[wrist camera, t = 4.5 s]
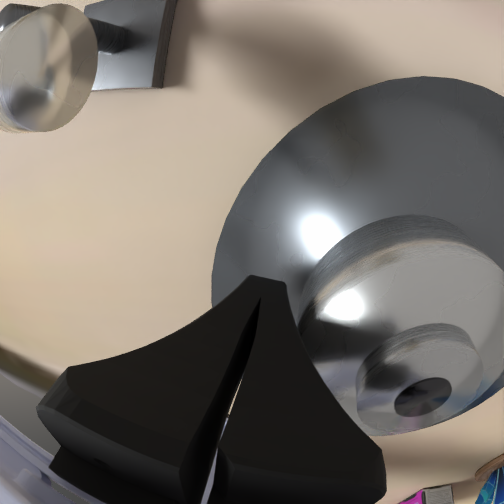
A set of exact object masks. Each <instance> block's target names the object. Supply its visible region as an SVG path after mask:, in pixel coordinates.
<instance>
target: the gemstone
mask: <svg viewBox="0 0 504 504" xmlns="http://www.w3.org/2000/svg"><path fill="white" fill-rule="evenodd" d="M475 479H476V481H485V480H487V482H486V483H485V485H484V486H483V488H482V489H481V490H480V493H479V496H478V499H477V500H476V502H475V504H491V503H492V501H493V497H494V501H493V504H504V454H502V455H500V456H498V457H497V458H495V459H493V460H492V461H490V462H489V463H487V464H486V465H484V466H483V467H482V468H480V469H479V470H478V471H477V473H476V474H475ZM496 480H497V482H496ZM495 488H496V489H495ZM494 491H495V495H494Z"/></svg>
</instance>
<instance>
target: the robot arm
mask: <svg viewBox="0 0 504 504" xmlns="http://www.w3.org/2000/svg"><path fill="white" fill-rule="evenodd" d="M244 371H245V372H244ZM243 374H244V375H243ZM242 376H243V378H242ZM241 379H242V381H241ZM240 381H241V384H240ZM239 384H240V387H239V390H238V393H237V395H236V398H235V401H234V404H233V407H232V410H231V412H230V415H229V418H227V415H228V412H229V409H230V406H231V404H232V401H233V398H234V396H235V393H236V391H237V389H238V386H239ZM36 409H37V413H38V417H39V418H40V420H41V421H42V423H43V424H44V426H45V427H46V428H47V429H48V431H49V432H50V433H51V434H52V436H53V437H54V438H55V439H56V440H57V441H58V443H59V444H60V445H61V447H60V449H59V451H58V452H57V454H56V455H55V457H54V456H53V455H51V454H50V453H48V452H47V451H45V450H44V449H42V448H41V447H39V446H38V445H37V444H35V443H34V442H33V441H31V440H30V439H29V438H27V437H26V436H25V435H24V434H22V433H21V432H20V431H18V430H17V429H16V428H15V427H13V426H12V425H11V424H10V423H9V422H7V421H6V420H5V419H4V418H3V417H2V416H1V415H0V504H76V503H75V502H73V501H71V500H70V499H68V498H66V497H65V496H63V495H62V494H61V493H59V492H58V491H56V490H55V489H53V488H52V486H51V481H50V479H52V480H53V481H55V482H56V483H58V484H59V485H60V486H62V487H64V488H65V489H67V490H68V491H70V492H72V493H73V494H75V495H77V496H78V497H80V498H82V499H83V500H85V501H87V502H89V503H90V504H375V503H376V502H378V501H379V500H380V499H381V498H383V497H384V496H385V493H386V491H387V485H386V470H385V464H384V459H383V454H382V450H381V448H380V447H379V446H378V445H377V444H376V443H375V442H374V441H373V440H372V439H371V438H370V437H369V436H368V435H367V434H366V433H365V432H364V431H363V430H362V429H361V428H360V427H359V426H358V425H357V424H356V423H355V422H354V421H353V420H352V419H351V417H350V416H349V415H348V414H347V413H346V411H345V410H344V409H343V408H342V406H341V405H340V404H339V402H338V401H337V399H336V398H335V397H334V395H333V394H332V392H331V391H330V389H329V388H328V387H327V385H326V384H325V382H324V381H323V379H322V377H321V376H320V374H319V372H318V371H317V369H316V367H315V365H314V363H313V362H312V360H311V358H310V356H309V354H308V352H307V350H306V348H305V345H304V343H303V341H302V338H301V336H300V334H299V331H298V328H297V326H296V323H295V320H294V317H293V314H292V310H291V307H290V303H289V298H288V293H287V285H286V284H285V282H283V281H278V280H274V279H269V278H265V277H260V276H255V275H249V276H247V277H246V278H245V279H244V280H243V282H242V283H241V284H240V285H239V286H238V287H236V288H235V289H234V290H233V291H232V292H231V293H230V294H229V295H228V296H226V297H225V298H224V299H223V300H222V301H220V302H219V303H218V304H217V305H216V306H214V307H213V308H211V309H210V310H209V311H207V312H206V313H205V314H203V315H202V316H200V317H199V318H197V319H196V320H194V321H193V322H191V323H190V324H188V325H186V326H185V327H183V328H181V329H179V330H178V331H176V332H174V333H172V334H170V335H168V336H166V337H164V338H162V339H160V340H158V341H156V342H154V343H151V344H149V345H147V346H144V347H142V348H139V349H136V350H133V351H131V352H128V353H125V354H121V355H118V356H115V357H111V358H108V359H104V360H99V361H95V362H90V363H86V364H81V365H76V366H70V367H68V368H67V369H66V370H65V371H64V372H63V373H62V374H61V375H60V377H59V378H58V379H57V380H56V381H55V383H54V384H53V385H52V387H51V388H50V389H49V391H48V392H47V393H46V395H45V396H44V397H43V399H42V400H41V402H40V403H39V404H38V406H37V407H36ZM48 477H49V478H50V479H49V478H48Z"/></svg>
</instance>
